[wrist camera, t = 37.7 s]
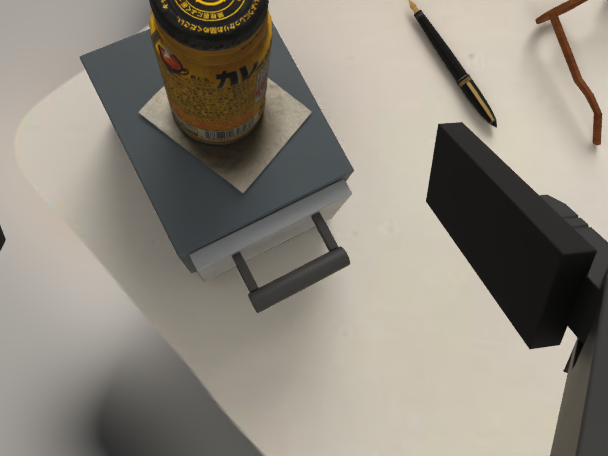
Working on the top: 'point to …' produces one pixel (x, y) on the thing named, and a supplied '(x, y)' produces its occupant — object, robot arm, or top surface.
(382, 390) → the top surface
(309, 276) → the drawer
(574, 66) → the glasses
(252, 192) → the cabinet
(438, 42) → the fountain pen
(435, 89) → the top surface
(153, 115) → the condiment
